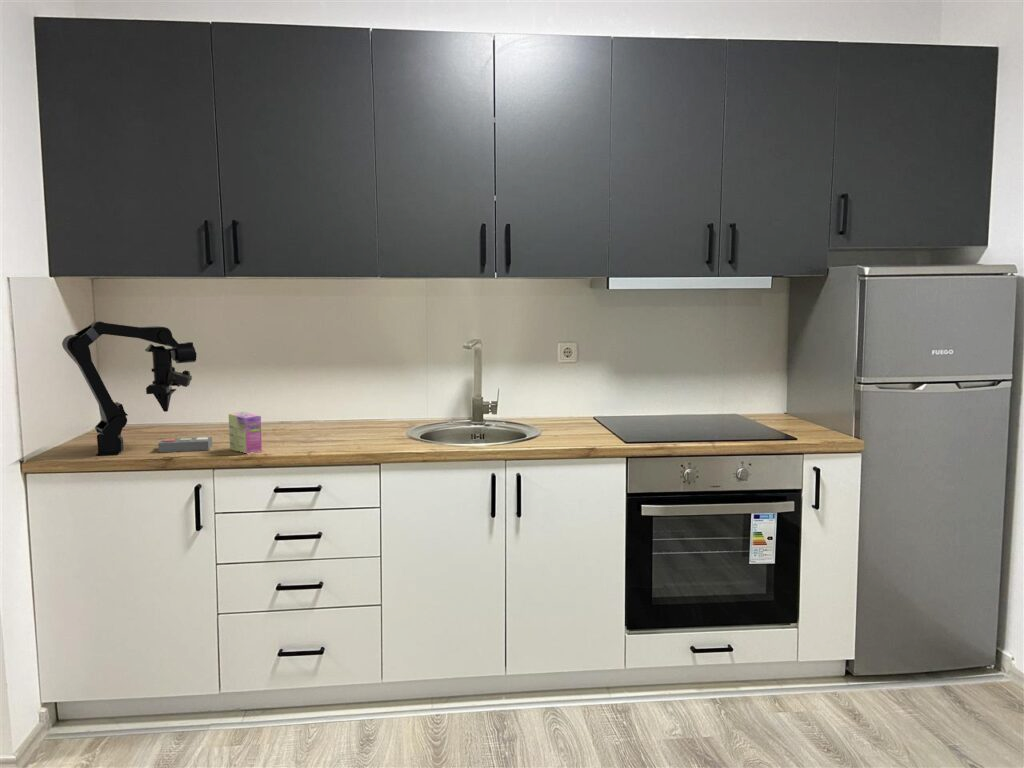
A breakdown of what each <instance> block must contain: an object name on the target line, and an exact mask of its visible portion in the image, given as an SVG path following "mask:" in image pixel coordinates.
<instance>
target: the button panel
mask: <svg viewBox="0 0 1024 768" xmlns="http://www.w3.org/2000/svg"><path fill="white" fill-rule="evenodd" d="M201 437H202V436H198V437H197V436H196V437H194V436H193V437H190V438H192V440H191V441H179V440H180V439H181V438H182V437H175V438H174V437H172V438H171V437H170V438H169V437H168V438H162V440H160V441H159V442H157V443H158V445H157V446H158V453H177V452H176V451H183V452H194V451H193V450H206V451H209V450H210V449H211V448H212V447H213V437H212V436H207V437H208V440H200V441H196V439H197V438H201ZM165 439H176V440H175V441H174V442H163V440H165ZM211 446H212V447H211ZM210 447H211V448H210Z"/></svg>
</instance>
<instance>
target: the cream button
mask: <svg viewBox="0 0 1024 768" xmlns="http://www.w3.org/2000/svg"><path fill="white" fill-rule="evenodd" d="M200 437H201V438H197V439H196V441H200V440H208V437H209V436H200Z"/></svg>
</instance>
